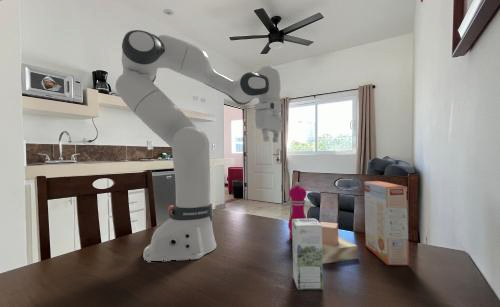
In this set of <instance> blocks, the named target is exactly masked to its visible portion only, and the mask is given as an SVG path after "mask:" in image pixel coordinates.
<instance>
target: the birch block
mask: <svg viewBox="0 0 500 307" xmlns="http://www.w3.org/2000/svg"><path fill="white" fill-rule="evenodd" d="M358 254H359V253H358V245H357V244H355V243H353V242H351V241H349V240H348V239H345V238H343V237H342V236H340V235H338V242H337V245H328V244H322V265H323V264H329V263H337V262H341V261H348V260H349V261H350V260H355V259H356V260H357V259H358V256H359V255H358Z"/></svg>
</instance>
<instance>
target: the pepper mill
mask: <svg viewBox="0 0 500 307" xmlns="http://www.w3.org/2000/svg"><path fill="white" fill-rule="evenodd" d="M288 195H289V197H290V204H291V207H292V211H291V215H290V218H289V219H288V220H289V221H288V224H287V226H288V229H289V230H290V233H289V239H290V240H292V219H308V218H307V216H306V214H305V208H304V207H305V205H306V200H305V198H306V197H307V191H306V189H305V188H304V187H303V186H301V184H300V181H299V182H298V181H295V183H294V186H293V187H291V188H290V189H289V193H288Z"/></svg>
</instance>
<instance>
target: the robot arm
mask: <svg viewBox="0 0 500 307" xmlns="http://www.w3.org/2000/svg"><path fill="white" fill-rule="evenodd" d="M121 49H122V50H121V51H122V52H121V64H122V70H123V71H122V74H120V76H118V78H117V80H116V81H115V86H114V87H115V91H116V92H117V94H118V95H119V97H120V99H121V100H122V101H123V102H124V104H125V105H126V107H128V109H130V110H131V111H132V113H134V114H135V115H136V116H137V117H138V118H139V119H140V120H141V122H143V123H144V124H145V125H146V126H147V127H148V129H150V130H151V131H152V133H154V134H156V135H157V136H158V137H159V138H160V139H161V140H162V141H164V143H166V144H167V145H168V146H169V147H170V148H171V150H172V151H171V152H172V163H173V172H174V180H175V205H169V206H168V207H167V208H168V209H167V210H168V213H169V218H168V219H167V220H166V221H165V222H164V223H162V224H161V225H159V226H158V227H157V229H155V231H154V232H153V234H152V236H151V241H150V244H148V245H147V246H146V247H145V248H144V249H143V254H142V259H143V258H144V259H143V260H144V261H145V260H146V261H147V262H146V261H145V262H146V263H152V262H151V261H162V262H172V261H171V260H176V261H188V260H189V259H190V260H199V259H201V258H203V257H204V255H206V254H208V253H210V252H213V251H215V249H216V248H217V242H216V239H215V234H214V229H213V223H212V221H213V217H214V216H213V204H212V203H211V173H210V168H211V167H210V141H209V138H208V136H207V134H206V133H205V132H204V131H203V130H202V129H200V128H198V127H197V126H196V125H195V124H194V123H193V122H192V120H191V119H190V118H188V116H186V114H185V113H184V112H183V111H182V110H181V108H179V107H178V106H177V105H176V104H175V103H174V102H173V101H172V100H171V99H170V98H169V97H168V96H167V95H166V94H165V93H164V92H163V91H162V90H161V89H160V88H159V87H158V86H157V85H156V84H154V82H155V81H156V79H157V78H156V77H157V72H158V69H163V68H164V69H169V70H172V71H174V72H175V73H178V74H180V75H183V76H186V78H187V77H188V78H191V79H193V80H195V81H197V82H199V83H202V84H203V85H206V86H208V87H210V88H212V89H215V90H216V91H219V92H220V93H223V94H225V95H226V96H228V97H229V98H230V100H232V101H233V102H234V103H236V104H238V105H243V106H244V105H245V106H246V105H248V104H249V103H250V102H251V101H252V100H254V99H258V103H255V104H254V105H253V109H254V111H255V113H254V116H255V118H254V119H255V126H256V128H257V130H261V134H262V137H263V142H270V137H269V134H268V133H269V132H272V134H273V136H272V137H273V138H272V143H278V142H279V141H278V140H279V135H280V133H282V132H283V129H284V126H283V123H284V122H283V117H282V115H281V114H280V113H281V112H282V99H281V95H280V94H281V79H280V78H281V77H280V72H279V70H278V69H277V68H275V67H274V66H269V65H267V66H262V67H260V68H259V69H257V70H255V71H253V72H252V71H251V72H246V73H244V74H243V75H242V76H241V77H240V78H239V79H238V80H232V79H230V78H228V77H226V76H224V75H222V74H220V73H219V72H217V71H215V69H214V68H213V67H212V64H211V61H210V58H209V56H208V54H207V53H206V51H204V50H203V49H201V48H200V47H198V46H196V45H194V44H193V43H190V42H188V41H185V40H184V39H183V40H182V39H180V38H176V37H173V36H170V35H167V34H165V35H164V34H161V35H158V36H157V35H156V34H153V33H151V32H148V31H145V30H139V29H138V30H137V29H133V30H130V31H128V32H126V33H125V35H124V37H123V39H122V42H121ZM163 260H164V261H163Z"/></svg>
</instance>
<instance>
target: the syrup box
mask: <svg viewBox="0 0 500 307" xmlns="http://www.w3.org/2000/svg"><path fill="white" fill-rule="evenodd" d="M320 223H321V222H319V220H318V219H316V218H307V219H292V239H291V240H292V244H291V245H292V246H291V247H292V250H291V251H292V278H293V281H294V284H295V286H296V288H297V291H309V290H324V289H323V288H324V284H323V283H324V282H323V281H324V279H323V278H324V276H323V272H324V271H323V268H324V267H323V263H322V226H321V224H320Z"/></svg>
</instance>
